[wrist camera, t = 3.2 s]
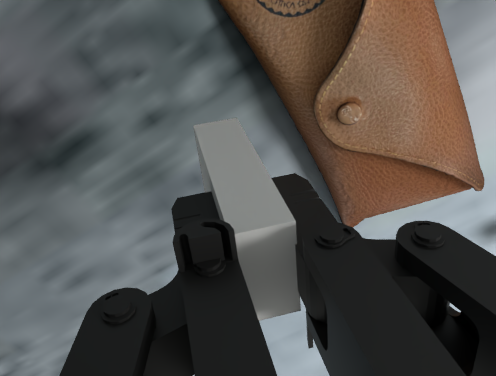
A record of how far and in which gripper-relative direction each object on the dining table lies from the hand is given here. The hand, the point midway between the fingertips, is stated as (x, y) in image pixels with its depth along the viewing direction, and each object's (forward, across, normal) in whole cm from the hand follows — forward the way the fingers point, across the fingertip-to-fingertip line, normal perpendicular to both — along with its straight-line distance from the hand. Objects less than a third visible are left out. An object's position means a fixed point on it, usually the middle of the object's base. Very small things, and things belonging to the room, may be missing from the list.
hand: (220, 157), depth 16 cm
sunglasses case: (+8, +8, 0) cm, 11 cm away
